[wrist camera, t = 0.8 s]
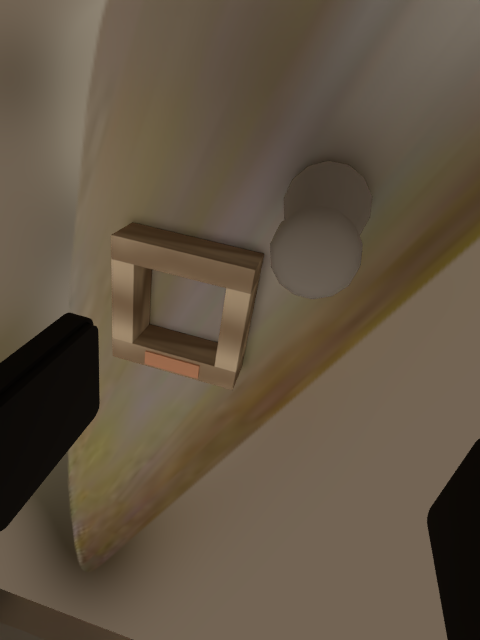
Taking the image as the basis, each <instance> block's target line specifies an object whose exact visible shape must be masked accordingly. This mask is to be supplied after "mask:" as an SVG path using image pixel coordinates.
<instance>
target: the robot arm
mask: <svg viewBox="0 0 480 640" xmlns="http://www.w3.org/2000/svg"><path fill="white" fill-rule="evenodd" d="M98 409H99V345H98V328H97V327H96V326H94V325H93V321H92V320H91V319H90V318H87V317H83V316H80V315H76V314H73V313H66V314H64V315H63V316H62V317H60V318H59V319H58V320H56V321H55V322H54V323H53V324H51V325H50V326H48V327H47V328H46V329H44V330H43V331H42V332H41V333H39V334H38V335H37V336H35V337H34V338H33V339H31V340H30V341H29V342H27V343H26V344H25V345H23V346H22V347H21V348H19V349H18V350H17V351H16V352H14V353H13V354H11V355H10V356H9V357H8V358H7V359H5V360H4V361H2V362H1V363H0V531H2V530H3V529H5V528H6V527H7V526H8V525H9V523H10V522H11V521H12V520H13V518H14V517H15V516H16V515H17V513H18V512H19V511H20V510H21V508H22V507H23V506H24V505H25V503H26V502H27V501H28V500H29V499H30V497H31V496H32V495H33V493H34V492H35V491H36V490H37V489H38V487H39V486H40V485H41V484H42V482H43V481H44V480H45V478H46V477H47V476H48V475H49V474H50V472H51V471H52V470H53V469H54V467H55V466H56V465H57V464H58V462H59V461H60V460H61V459H62V457H63V456H64V455H65V454H66V452H67V451H68V450H69V449H70V447H71V446H72V445H73V444H74V442H75V441H76V440H77V439H78V437H79V436H80V435H81V434H82V432H83V431H84V430H85V429H86V427H87V426H88V425H89V424H90V422H91V421H92V420H93V419H94V417H95V416H96V414H97V412H98ZM427 524H428V531H429V536H430V542H431V548H432V553H433V558H434V565H435V570H436V576H437V582H438V587H439V593H440V599H441V604H442V610H443V616H444V621H445V627H446V632H447V638H448V640H480V439H478V440H477V441H476V442H475V444H474V445H473V447H472V448H471V450H470V451H469V453H468V454H467V456H466V457H465V458H464V460H463V461H462V463H461V464H460V466H459V467H458V469H457V470H456V471H455V473H454V474H453V476H452V477H451V479H450V480H449V482H448V483H447V485H446V486H445V488H444V489H443V490H442V492H441V493H440V495H439V496H438V498H437V499H436V501H435V502H434V504H433V505H432V506H431V508H430V510H429V513H428V517H427ZM0 640H132V639H130V638H128V637H125V636H122V635H120V634H117V633H115V632H112V631H109V630H107V629H104V628H101V627H99V626H96V625H93V624H91V623H88V622H86V621H83V620H81V619H78V618H75V617H73V616H70V615H67V614H65V613H62V612H60V611H57V610H54V609H52V608H49V607H47V606H44V605H41V604H38V603H36V602H33V601H31V600H28V599H25V598H23V597H20V596H17V595H15V594H12V593H10V592H7V591H5V590H2V589H0Z"/></svg>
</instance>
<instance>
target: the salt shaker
mask: <svg viewBox="0 0 480 640" xmlns="http://www.w3.org/2000/svg"><path fill="white" fill-rule="evenodd" d="M371 204H372V195H371V193H370V190H369V188H368V186H367V183H366V181H365V179H364V177H362V176H361V175H360V174H359V173H358V172H357V171H355V170H354V169H353V168H352V167H351V166H350V165H347V164H342V163H337V162H332V161H326V162H322V163H318V164H314V165H310V166H308V167H306V168H305V169H304V170H303V171H302V172H301V173H300V174H298V175H297V176H296V177H295V178H294V179H293V180H292V182H291V184H290V186H289V188H288V190H287V192H286V195H285V197H284V219H285V220H284V221H283V222H281V224H280V225H279V227H278V229H277V231H276V233H275V235H274V237H273V239H272V241H271V243H270V253H271V268H272V270H273V272H274V274H275V276H276V278H277V279H278V281H279V283H280V284H281V285H282V286H284V287H285V288H286V289H288V290H289V291H290V292H292V293H293V294H295V295H298V296H302V297H306V298H310V299H318V298H324V297H329V296H333V295H334V294H336V293H338V292H339V291H341V290H342V289H344V288H346V287H347V286H349V284H350V282H351V281H352V279H353V277H354V276H355V274H356V272H357V271H358V269H359V267H360V265H361V256H362V241H361V239H360V237H359V235H360V234H361V232H362V230H363V228H364V227H365V225H366V223H367V221H368V220H369V218H370V212H371Z"/></svg>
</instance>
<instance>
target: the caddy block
mask: <svg viewBox="0 0 480 640" xmlns="http://www.w3.org/2000/svg"><path fill="white" fill-rule="evenodd" d="M263 257H264V254H262V253H258V252H254V251H250V250H246V249H241V248H237V247H233V246H229V245H225V244H220V243H216V242H212V241H208V240H204V239H199V238H195V237H191V236H187V235H183V234H178V233H174V232H170V231H166V230H162V229H157V228H153V227H149V226H145V225H141V224H136V223H131V224H129V225H127V226H126V227H124V228H122V229H120V230H119V231H117V232H115V233H114V234H112V235H111V259H112V331H113V356H115V357H118V358H122V359H125V360H129V361H132V362H136V363H139V364H143V365H146V366H150V367H153V368H157V369H160V370H164V371H167V372H171V373H174V374H178V375H181V376H185V377H188V378H192V379H195V380H199V381H202V382H206V383H209V384H213V385H216V386H220V387H223V388H227V389H230V390H233V387H234V385H235V383H236V380H237V378H238V375H239V373H240V370H241V368H242V363H243V358H244V353H245V348H246V343H247V338H248V333H249V328H250V323H251V318H252V313H253V308H254V303H255V297H256V292H257V287H258V282H259V277H260V272H261V267H262V262H263ZM152 269H153V270H157V271H161V272H165V273H169V274H173V275H177V276H181V277H185V278H189V279H192V280H196V281H200V282H204V283H208V284H212V285H216V286H220V287H224V288H226V295H225V301H224V308H223V315H222V321H221V328H220V334H219V341H218V343H217V342H213V341H209V340H206V339H202V338H198V337H195V336H191V335H187V334H183V333H180V332H176V331H172V330H169V329H165V328H161V327H158V326H154V325H150V324H149V322H150V299H151V276H152Z"/></svg>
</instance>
